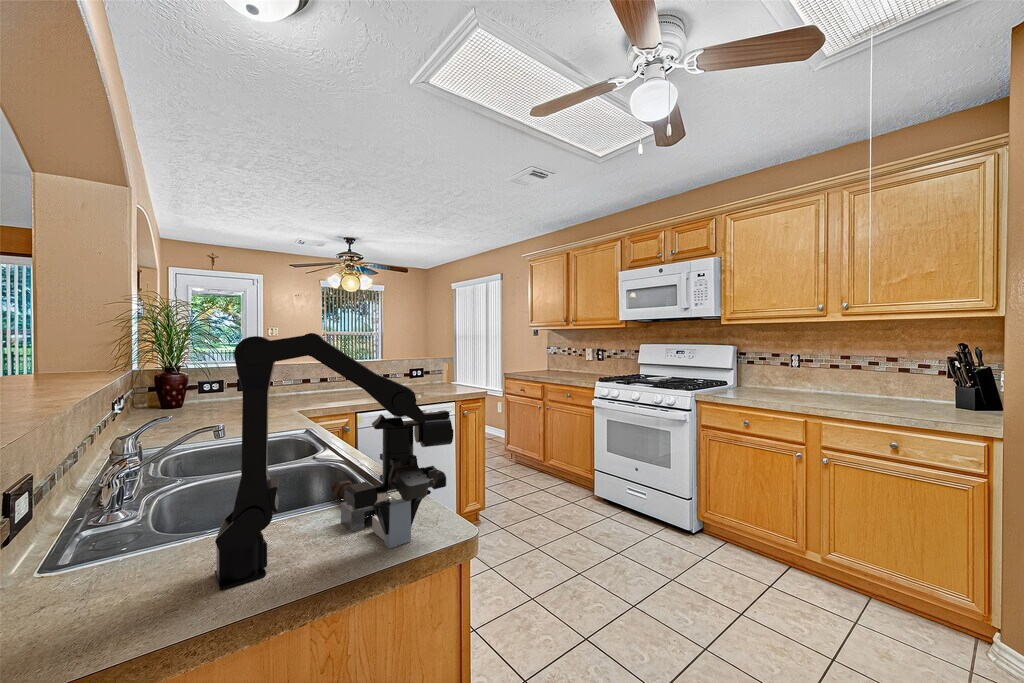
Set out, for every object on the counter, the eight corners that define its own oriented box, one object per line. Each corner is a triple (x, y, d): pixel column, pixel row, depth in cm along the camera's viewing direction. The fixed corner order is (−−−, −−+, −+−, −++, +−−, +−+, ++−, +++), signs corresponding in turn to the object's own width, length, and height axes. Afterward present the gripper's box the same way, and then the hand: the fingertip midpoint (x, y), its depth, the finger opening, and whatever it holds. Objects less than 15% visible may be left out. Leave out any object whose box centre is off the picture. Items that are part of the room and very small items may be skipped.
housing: (351, 532, 88) (351, 508, 88) (340, 522, 93) (340, 500, 93) (397, 518, 95) (397, 497, 95) (385, 510, 99) (385, 489, 99)
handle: (389, 548, 81) (389, 506, 81) (369, 532, 88) (370, 492, 88) (410, 541, 84) (411, 500, 84) (390, 526, 91) (390, 488, 91)
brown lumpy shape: (340, 501, 110) (366, 517, 99) (322, 495, 107) (347, 511, 96) (351, 478, 112) (378, 491, 101) (334, 472, 109) (359, 485, 98)
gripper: (367, 469, 71) (367, 563, 71) (462, 450, 83) (461, 530, 83) (343, 454, 79) (342, 539, 80) (432, 439, 92) (431, 512, 92)
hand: (397, 530), depth 83 cm, fingers closed on handle, 4 cm apart
